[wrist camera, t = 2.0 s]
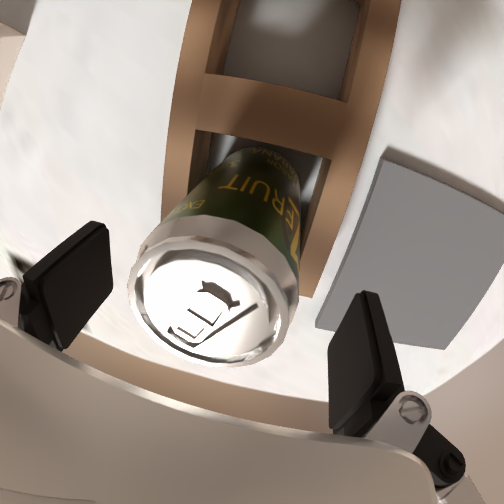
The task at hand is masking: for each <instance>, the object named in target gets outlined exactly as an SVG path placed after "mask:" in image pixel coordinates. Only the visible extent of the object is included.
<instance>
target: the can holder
mask: <svg viewBox="0 0 504 504" xmlns="http://www.w3.org/2000/svg"><path fill="white" fill-rule="evenodd" d="M239 1H240V0H192V4H191V8H190V12H189V16H188V20H187V24H186V29H185V33H184V38H183V43H182V47H181V52H180V58H179V63H178V68H177V74H176V80H175V86H174V92H173V99H172V105H171V112H170V120H169V128H168V136H167V145H166V155H165V165H164V177H163V190H162V205H161V222H162V221H163V220H164V218H165V217H166V216H167V215H168V214H169V213H170V212H171V211H172V210H173V209H174V208H175V207H176V206H177V205H178V204H179V203H180V202H181V201H182V200H183V199H184V198H185V197H186V196H187V195H188V194H189V193H190V192H191V191H192V190H193V189H194V188H195V187H196V186H197V185H198V184H199V183H200V182H201V181H202V180H204V179H205V176H206V169H207V163H208V156H209V150H210V143H211V137H212V132H215V133H221V134H226V135H231V136H236V137H241V138H246V139H251V140H256V141H260V142H265V143H269V144H274V145H278V146H282V147H286V148H290V149H294V150H298V151H302V152H306V153H309V154H313V155H317V156H320V157H323V159H322V163H321V166H320V170H319V173H318V177H317V180H316V184H315V187H314V191H313V194H312V197H311V201H310V204H309V207H308V211H307V214H306V217H305V221H304V224H303V227H302V230H301V233H300V271H299V295H301V296H305V297H309V298H312V297H313V294H314V292H315V290H316V287H317V285H318V282H319V280H320V277H321V275H322V273H323V270H324V267H325V265H326V262H327V260H328V257H329V255H330V252H331V250H332V247H333V244H334V242H335V239H336V236H337V234H338V231H339V228H340V225H341V223H342V220H343V217H344V214H345V212H346V209H347V206H348V203H349V200H350V197H351V194H352V191H353V188H354V185H355V182H356V179H357V176H358V173H359V170H360V167H361V164H362V160H363V157H364V154H365V151H366V147H367V144H368V141H369V137H370V134H371V131H372V127H373V124H374V120H375V116H376V113H377V109H378V105H379V102H380V98H381V94H382V90H383V86H384V82H385V78H386V74H387V69H388V65H389V61H390V56H391V52H392V47H393V42H394V37H395V32H396V27H397V21H398V16H399V10H400V4H401V0H350V1H353V2H356V3H359V4H360V8H359V13H358V18H357V22H356V27H355V32H354V36H353V41H352V45H351V50H350V54H349V58H348V63H347V67H346V71H345V75H344V79H343V83H342V88H341V92H340V96H339V99H338V100H335V99H332V98H328V97H325V96H321V95H318V94H314V93H310V92H306V91H302V90H298V89H294V88H290V87H285V86H281V85H276V84H271V83H266V82H261V81H256V80H250V79H244V78H238V77H231V76H224V75H223V71H224V66H225V62H226V57H227V52H228V48H229V43H230V39H231V34H232V30H233V25H234V21H235V17H236V13H237V9H238V5H239Z"/></svg>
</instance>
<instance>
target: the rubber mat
mask: <svg viewBox="0 0 504 504" xmlns="http://www.w3.org/2000/svg"><path fill="white" fill-rule="evenodd" d="M503 263H504V213H502V212H500V211H498V210H497V209H495V208H493V207H491V206H489V205H487V204H486V203H484V202H482V201H480V200H478V199H476V198H474V197H472V196H470V195H468V194H466V193H464V192H462V191H460V190H458V189H456V188H454V187H452V186H449V185H447V184H445V183H443V182H441V181H438V180H436V179H434V178H432V177H429V176H427V175H425V174H422V173H420V172H417V171H415V170H413V169H410V168H408V167H405V166H403V165H400V164H397V163H395V162H392V161H389V160H387V159H384V158H381V157H380V160H379V163H378V166H377V169H376V172H375V175H374V178H373V181H372V184H371V187H370V190H369V193H368V195H367V198H366V201H365V204H364V206H363V209H362V212H361V215H360V217H359V220H358V223H357V225H356V228H355V230H354V233H353V235H352V238H351V240H350V243H349V245H348V248H347V250H346V253H345V255H344V258H343V260H342V262H341V265H340V267H339V270H338V272H337V274H336V277H335V279H334V281H333V283H332V286H331V288H330V290H329V292H328V295H327V297H326V299H325V301H324V303H323V306H322V308H321V310H320V312H319V314H318V316H317V318H316V321H315V328H319V329H324V330H329V331H334V332H336V330H337V329H338V327H339V325H340V323H341V321H342V319H343V317H344V315H345V314H346V312H347V310H348V308H349V306H350V304H351V302H352V300H353V298H354V296H355V294H356V293H361V291H362V290H366V291H370V292H374V293H377V294H378V295H379V298H380V301H381V304H382V307H383V311H384V314H385V317H386V321H387V324H388V328H389V331H390V334H391V337H392V340H393V342H394V343H400V344H407V345H413V346H420V347H427V348H434V349H442V350H445V349H446V347H447V346H448V345H449V344H450V342H451V341H452V340H453V339H454V337H455V336H456V335H457V333H458V332H459V331H460V330H461V328H462V327H463V325H464V324H465V323H466V321H467V320H468V319H469V317H470V316H471V314H472V313H473V312H474V310H475V309H476V307H477V306H478V304H479V303H480V301H481V300H482V298H483V297H484V295H485V293H486V292H487V290H488V289H489V287H490V285H491V284H492V282H493V281H494V279H495V277H496V275H497V274H498V272H499V270H500V269H501V267H502V265H503Z"/></svg>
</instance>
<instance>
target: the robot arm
mask: <svg viewBox="0 0 504 504" xmlns="http://www.w3.org/2000/svg"><path fill="white" fill-rule="evenodd" d="M23 279H24V283H23V284H22V285H21V283H20V281H19V280H18V279H16V278H13V277H6V278H2V279H0V504H485V502H484V500H483V499H482V497H481V495H480V493H479V492H478V490H477V488H476V487H475V485H474V483H473V482H472V480H471V479H470V477H469V475H467V476H464V472H465V467H466V464H465V459H464V457H463V454H462V453H461V452H460V451H459V450H458V449H457V448H456V447H455V446H454V445H452V444H451V443H450V442H449V441H448V440H447V439H446V438H445V437H444V436H443V435H441V434H440V433H439V432H438V431H437V430H436V429H435V428H434V427H432V426H431V425H430V424H429V423H430V420H431V408H430V406H429V404H428V402H427V401H426V399H425V398H424V397H423V396H422V395H420V394H418V393H417V392H413V391H405V390H404V385H403V381H402V376H401V372H400V368H399V363H398V359H397V355H396V351H395V348H394V344H393V340H392V337H391V334H390V331H389V328H388V324H387V321H386V317H385V314H384V311H383V307H382V304H381V301H380V298H379V295H378V294H377V293H374V292H370V291H366V290H362V291H361V293H356V294H355V296H354V298H353V300H352V302H351V304H350V306H349V308H348V310H347V312H346V314H345V315H344V317H343V319H342V321H341V323H340V325H339V327H338V329H337V330H336V332H335V334H334V336H333V338H332V340H331V341H330V343H329V346H328V352H327V353H328V385H329V428H331V429H333V434H325V433H318V432H311V431H304V430H298V429H292V428H286V427H280V426H274V425H269V424H264V423H259V422H254V421H249V420H245V419H241V418H236V417H232V416H228V415H224V414H220V413H216V412H213V411H209V410H206V409H202V408H198V407H195V406H192V405H189V404H185V403H182V402H179V401H176V400H173V399H170V398H167V397H164V396H161V395H158V394H155V393H153V392H150V391H147V390H145V389H142V388H139V387H136V386H134V385H131V384H129V383H127V382H124V381H122V380H119V379H117V378H115V377H112V376H110V375H108V374H106V373H103V372H101V371H99V370H97V369H94V368H92V367H90V366H88V365H86V364H84V363H82V362H80V361H78V360H76V359H74V358H72V357H69V356H68V355H66V354H64V353H62V351H63V349H67V348H68V347H69V346H70V344H71V343H72V342H73V340H74V339H75V337H76V336H77V335H78V334H79V332H80V331H81V330H82V328H83V327H84V326H85V324H86V323H87V322H88V321H89V319H90V318H91V317H92V316H93V314H94V313H95V312H96V310H97V309H98V308H99V307H100V305H101V304H102V303H103V302H104V301H105V299H106V298H107V297H108V296H109V294H110V293H111V292H112V289H113V277H112V267H111V255H110V240H109V230H108V229H107V228H106V225H105V224H103V223H100V222H96V221H90V222H88V223H87V224H86V225H84V226H83V227H82V228H80V229H79V230H78V231H76V232H75V233H74V234H72V235H71V236H70V237H68V238H67V239H66V240H65V241H63V242H62V243H61V244H59V245H58V246H57V247H56V248H54V249H53V250H52V251H51V252H50V253H48V254H47V255H46V256H45V257H44V258H42V259H41V260H40V261H39V262H38V263H36V264H35V265H34V266H33V267H32V268H31V269H29V270H28V271H27V272H26V273H25V274H24V275H23Z"/></svg>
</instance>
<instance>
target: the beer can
mask: <svg viewBox="0 0 504 504" xmlns="http://www.w3.org/2000/svg"><path fill="white" fill-rule="evenodd" d="M299 271H300V185H299V178H298V176H297V174H296V172H295V169H294V167H293V166H292V165H291V164H290V163H289V162H288V161H287V159H286V158H285V157H284V156H282V155H280V154H279V153H277V152H275V151H273V150H271V149H267V148H261V147H250V148H243V149H240V150H238V151H236V152H234V153H232V154H230V155H229V156H228V157H227V158H226V159H225V160H224V161H223V162H222V163H220V164H219V165H218V166H217V167H216V168H215V169H214V170H213V171H212V172H211V173H210V174H209V175H208V176H207V177H206V178H205V179H204V180H202V181H201V182H200V183H199V184H198V185H197V186H196V187H195V188H194V189H193V190H192V191H191V192H190V193H189V194H188V195H187V196H186V197H185V198H184V199H183V200H182V201H181V202H180V203H179V204H178V205H177V206H176V207H175V208H174V209H173V210H172V211H171V212H170V213H169V214H168V215H167V216H166V217H165V218H164V220H163V221H162V222H161V223H160V224H159V225H158V226H157V227H156V228H155V229H154V230H153V231H152V233H151V234H150V235H149V236H148V237H147V239H146V240H145V241H144V242H143V243H142V245H141V246H140V250H139V253H138V257H137V260H136V263H135V264H134V266H133V267H132V268H131V272H130V276H129V280H128V284H127V288H128V295H129V302H130V306H131V308H132V310H133V312H134V314H135V316H136V318H137V320H138V322H139V323H140V324H141V326H142V327H143V328H144V329H145V330H146V331H147V333H148V334H149V335H150V336H151V337H152V338H153V339H154V340H155V341H157V342H158V343H159V344H161V345H162V346H163V347H165V348H166V349H167V350H169V351H170V352H172V353H174V354H176V355H178V356H180V357H183V358H185V359H187V360H189V361H192V362H195V363H199V364H203V365H207V366H211V367H227V368H234V367H240V366H246V365H251V364H254V363H256V362H259V361H261V360H263V359H265V358H267V357H269V356H271V354H272V353H273V352H274V351H275V350H276V349H277V348H278V347H279V346H280V345H281V344H282V343H283V341H284V338H285V336H286V333H287V330H288V327H289V324H290V323H291V322H292V320H293V317H294V314H295V311H296V308H297V305H298V302H299Z"/></svg>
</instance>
